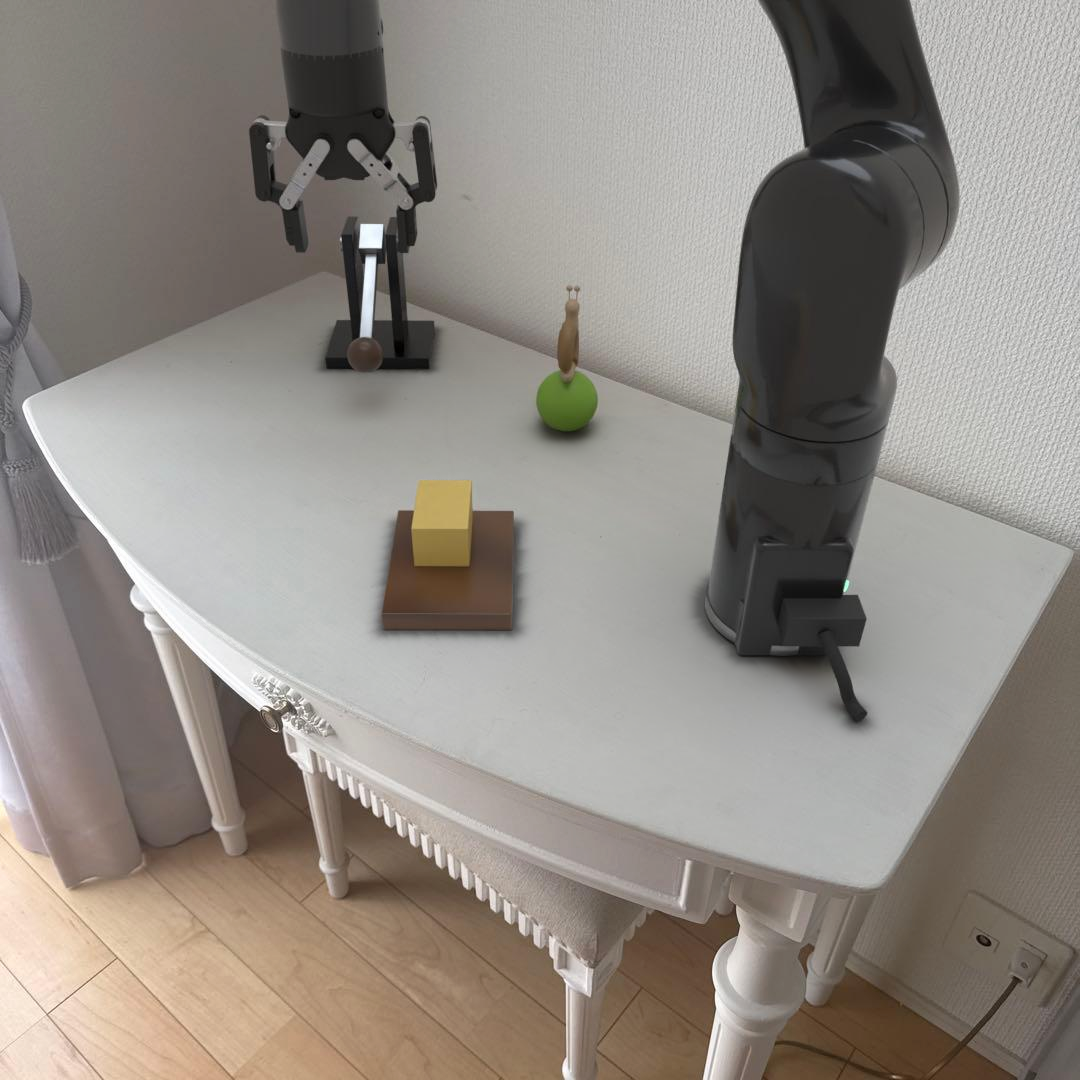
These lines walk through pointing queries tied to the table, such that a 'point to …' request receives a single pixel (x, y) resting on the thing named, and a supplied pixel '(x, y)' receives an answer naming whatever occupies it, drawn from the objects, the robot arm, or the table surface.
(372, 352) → the brown knob lever
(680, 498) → the table surface
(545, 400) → the snail figurine
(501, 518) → the board
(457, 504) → the butter
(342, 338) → the slicer bracket
